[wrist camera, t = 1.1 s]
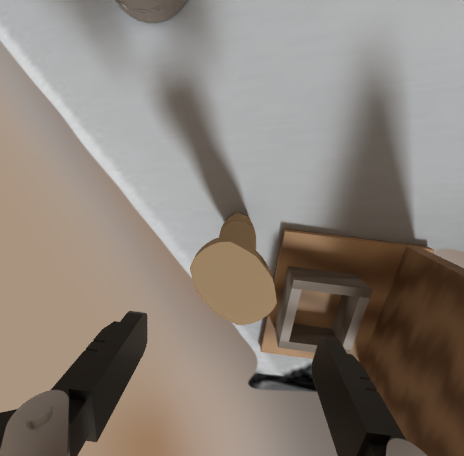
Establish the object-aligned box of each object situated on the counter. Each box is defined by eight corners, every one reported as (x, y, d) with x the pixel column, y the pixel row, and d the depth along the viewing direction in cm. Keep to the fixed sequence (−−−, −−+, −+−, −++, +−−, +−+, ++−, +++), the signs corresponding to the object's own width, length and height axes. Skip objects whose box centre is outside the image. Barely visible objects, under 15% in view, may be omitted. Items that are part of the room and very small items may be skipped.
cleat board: (283, 228, 28) (379, 390, 8) (427, 246, 28) (883, 458, 8) (260, 346, 34) (284, 604, 14) (379, 362, 34) (571, 647, 14)
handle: (237, 251, 30) (232, 334, 15) (209, 214, 28) (175, 268, 14) (267, 232, 29) (291, 303, 14) (239, 192, 27) (235, 228, 13)
